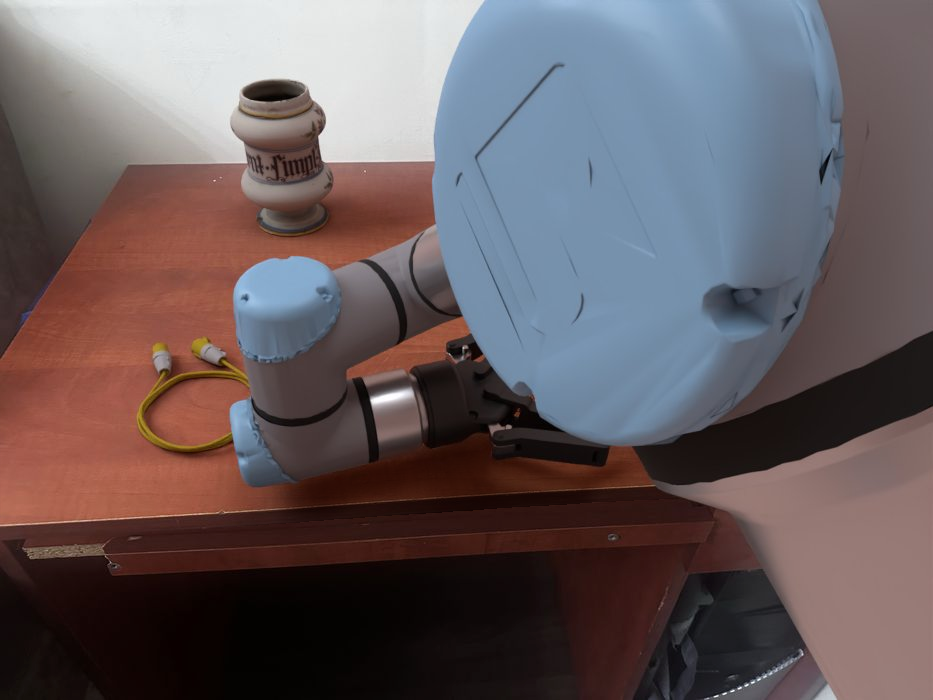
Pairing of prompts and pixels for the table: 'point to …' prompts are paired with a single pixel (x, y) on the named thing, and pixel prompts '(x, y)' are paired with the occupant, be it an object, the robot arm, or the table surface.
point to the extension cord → (163, 366)
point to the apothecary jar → (283, 155)
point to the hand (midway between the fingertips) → (628, 363)
